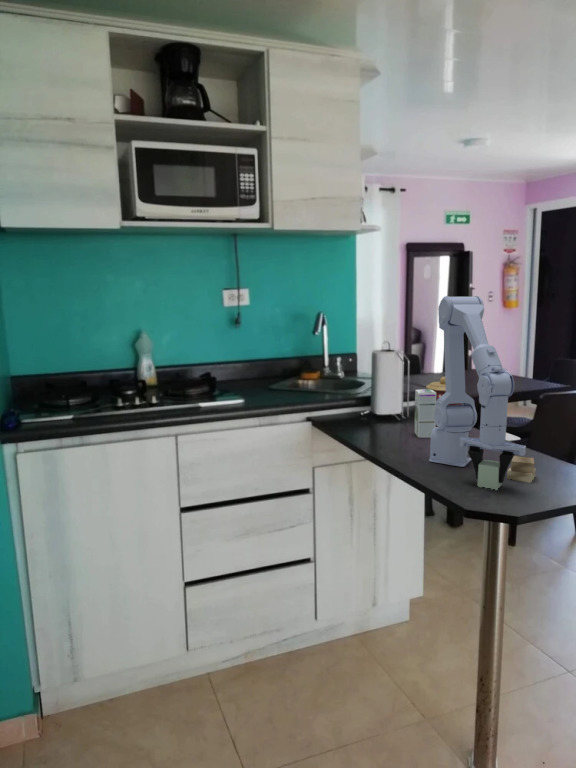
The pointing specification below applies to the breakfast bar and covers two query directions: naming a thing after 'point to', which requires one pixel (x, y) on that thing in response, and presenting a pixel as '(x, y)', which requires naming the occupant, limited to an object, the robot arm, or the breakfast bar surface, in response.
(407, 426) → the breakfast bar surface
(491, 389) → the robot arm
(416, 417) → the syrup box
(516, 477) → the slab bottom
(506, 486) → the breakfast bar surface
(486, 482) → the block
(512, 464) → the slab top
